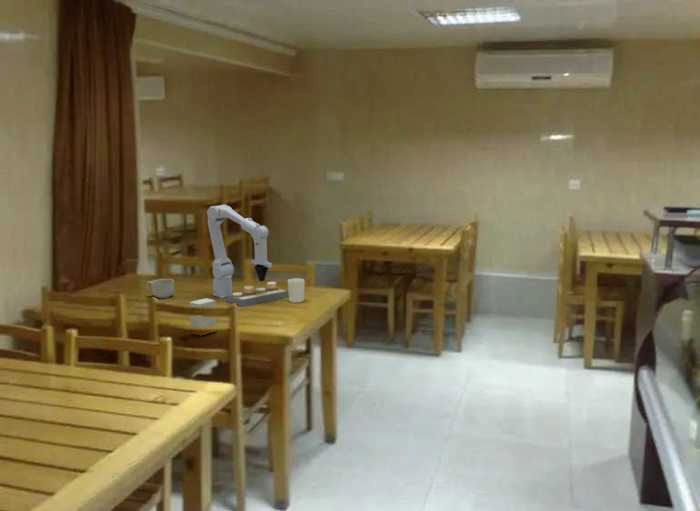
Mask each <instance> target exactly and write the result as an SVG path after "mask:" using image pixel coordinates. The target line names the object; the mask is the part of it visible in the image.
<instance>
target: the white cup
mask: <svg viewBox="0 0 700 511" xmlns="http://www.w3.org/2000/svg"><path fill="white" fill-rule="evenodd" d="M305 283H306V282H305V279H304V278H300V277H299V278H289V279H288V280H287V291H288V295H289V297H288V301H289V302H290V303H294V304H295V303H302V302H303V303H304V301H305Z"/></svg>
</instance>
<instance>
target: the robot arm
mask: <svg viewBox="0 0 700 511" xmlns="http://www.w3.org/2000/svg"><path fill="white" fill-rule="evenodd" d="M206 214H207V215H206V216H207V226H208V231H209V236H210V241H211V245H212V251H213V254H214V255H213V256H214V261H213V262H212V274H213V277H214V278H213V280H212V287H213V290H212V291H213V293H211V295H212V296H214V297H217V298H220V299H224V298H226V295H230V294H233V293H234V292H233V287H232V286H233V285H232V284H233V282H232V278H233V274H234V273H235V267H234V265H233V263H232V260H231V259H230V258H229V257H228V256H227V252H226V247H225V244H224V238H223V234H222V230H221V224H222V223H223V222H224V221H225V220H226V219H230V220H231V221H233V222H234V223H237V224H239V225H240V227H241V229H242V230H244V231H245V232H247V233H248V234H250V235H251V238H252V239H253V244H254V246H253V247H254V259H250V264H251V265H255V266H253V268H254V270H255V272H256V276H257V278H258V281H259V282H264V281H266V280H265V279H266V275H267V272H268V270H269V268H273V262H270V261H268V246H267V244H268V240H267V238H268V236H269V234H270V230H269V229H268V227H267V226H266V225H260V224H259V223H257V222H255V221H254V220H253V218H252V217H251V218H250V217H247V218H244V216H242V215H240V214H239V213H238V212H236V211H235V210H234V209H232V207H231V206H229V205H227V204H220V205H210V207H209V208H208V209H207V211H206Z"/></svg>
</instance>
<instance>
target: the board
mask: <svg viewBox="0 0 700 511" xmlns="http://www.w3.org/2000/svg"><path fill="white" fill-rule="evenodd" d="M264 288H265V292H263V293H257V292H256V289H254V294H252V295H245V292H244V291H242V297H237V298H235V297H233V294H230V295H226V297H225V301H226V303H230V304H232V303H236V304H238V305H237V306H240V307H242V308H243V307H248V306H254V305H258V304H262V302H263V303H268V302H272V301H277V300H281V298H282V299H285V298H286V297H287V298H289V292H288V290H287V289H286V290H285V289H282V288H278V287H276V290H273V291H269V290H267V287H264ZM287 298H286V299H287ZM267 301H268V302H267ZM257 303H258V304H257Z"/></svg>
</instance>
